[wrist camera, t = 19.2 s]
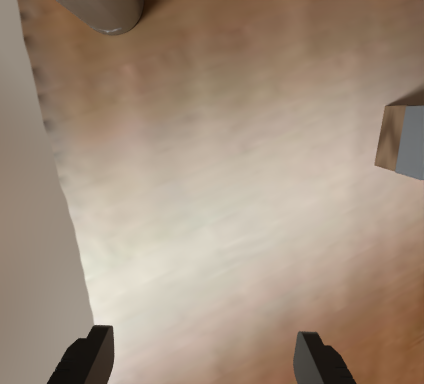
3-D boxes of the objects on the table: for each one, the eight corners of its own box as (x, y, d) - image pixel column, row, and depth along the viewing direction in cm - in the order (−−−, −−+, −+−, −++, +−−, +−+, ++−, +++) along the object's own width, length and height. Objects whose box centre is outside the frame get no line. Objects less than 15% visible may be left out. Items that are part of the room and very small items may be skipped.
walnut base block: (384, 106, 43) (407, 105, 38) (442, 108, 43) (472, 107, 39) (373, 165, 45) (393, 171, 41) (429, 166, 46) (455, 172, 41)
